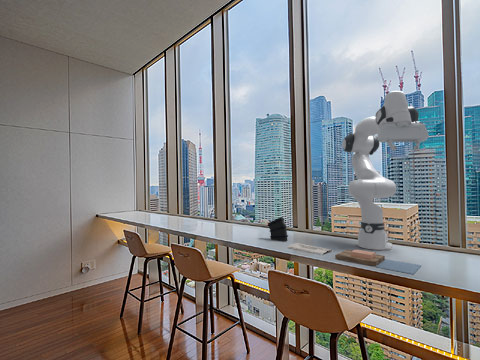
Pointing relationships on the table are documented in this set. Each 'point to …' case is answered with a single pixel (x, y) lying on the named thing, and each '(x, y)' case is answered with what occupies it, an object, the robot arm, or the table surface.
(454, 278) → the table surface
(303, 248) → the newspaper
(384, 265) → the mat
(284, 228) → the black folded cloth
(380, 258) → the deck
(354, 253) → the salmon pink block
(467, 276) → the table surface
